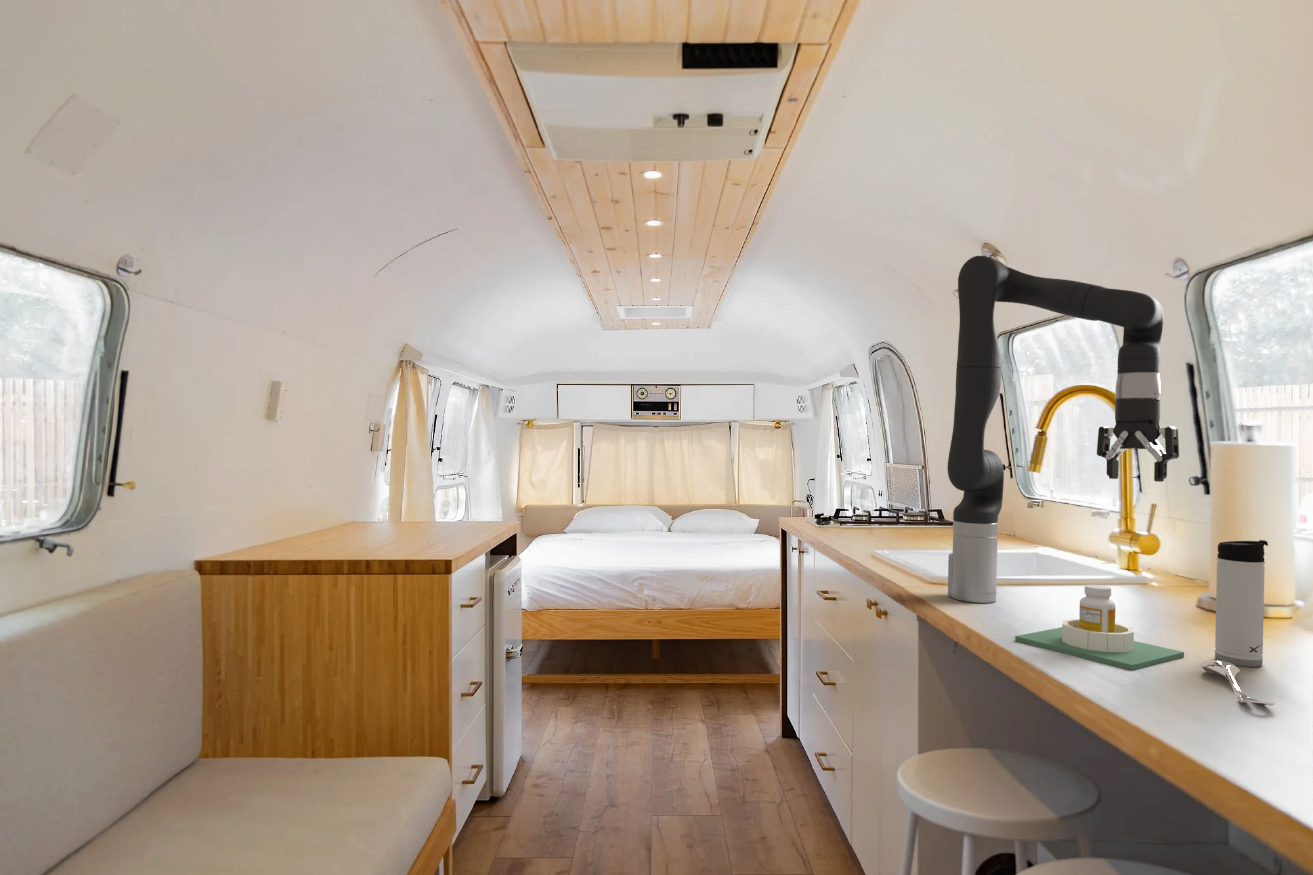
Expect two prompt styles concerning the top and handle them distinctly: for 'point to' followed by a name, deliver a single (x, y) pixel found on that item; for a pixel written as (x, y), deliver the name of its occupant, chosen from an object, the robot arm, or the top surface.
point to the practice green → (1101, 645)
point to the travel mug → (1240, 602)
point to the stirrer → (1230, 678)
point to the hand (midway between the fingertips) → (1135, 480)
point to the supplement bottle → (1097, 610)
